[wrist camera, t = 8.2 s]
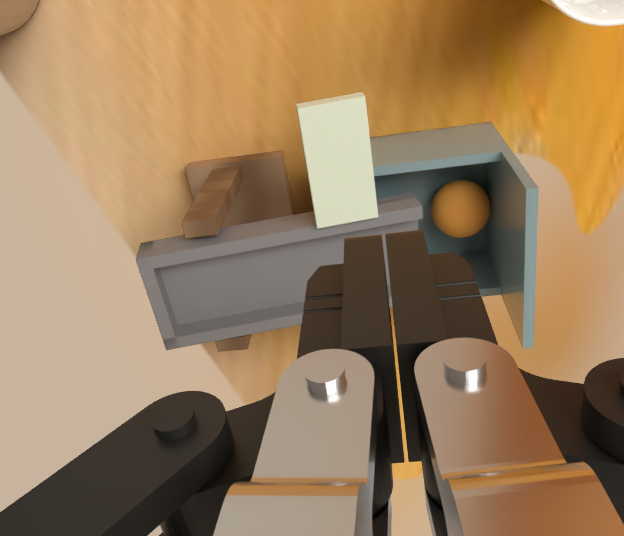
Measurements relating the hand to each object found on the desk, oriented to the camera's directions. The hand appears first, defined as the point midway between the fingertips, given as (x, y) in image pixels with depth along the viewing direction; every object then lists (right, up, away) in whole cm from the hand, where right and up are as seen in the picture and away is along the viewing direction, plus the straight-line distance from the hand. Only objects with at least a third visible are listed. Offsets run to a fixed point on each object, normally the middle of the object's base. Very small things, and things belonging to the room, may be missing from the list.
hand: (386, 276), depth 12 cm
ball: (+9, +4, +30) cm, 31 cm away
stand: (-7, +4, +34) cm, 35 cm away
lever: (-4, +3, +25) cm, 25 cm away
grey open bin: (+7, +5, +32) cm, 33 cm away
